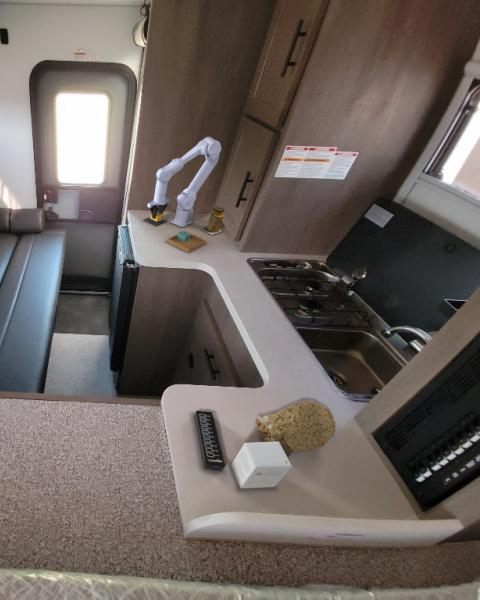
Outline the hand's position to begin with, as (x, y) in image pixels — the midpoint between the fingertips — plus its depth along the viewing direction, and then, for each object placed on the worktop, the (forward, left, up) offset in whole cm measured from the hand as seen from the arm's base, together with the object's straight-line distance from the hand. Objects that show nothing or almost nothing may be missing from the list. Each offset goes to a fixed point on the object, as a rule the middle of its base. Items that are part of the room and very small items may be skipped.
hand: (156, 217), depth 180 cm
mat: (-3, -2, -4) cm, 5 cm away
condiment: (-18, +24, -4) cm, 30 cm away
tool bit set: (+86, +93, -4) cm, 127 cm away
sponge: (+66, +106, -4) cm, 125 cm away
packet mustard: (0, 0, -1) cm, 1 cm away
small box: (+85, +105, -4) cm, 135 cm away
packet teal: (+3, +21, -3) cm, 22 cm away
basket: (+4, +25, -4) cm, 25 cm away
